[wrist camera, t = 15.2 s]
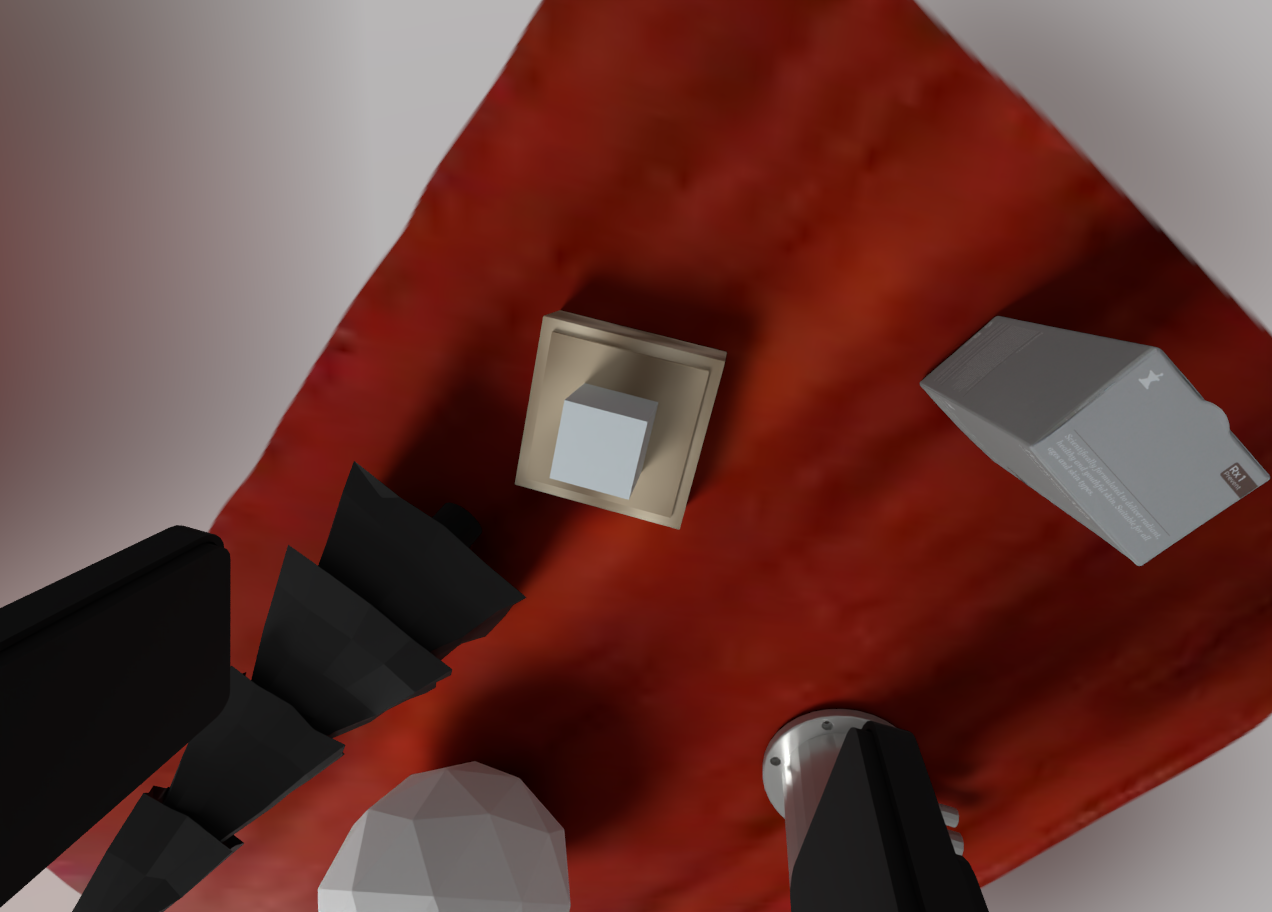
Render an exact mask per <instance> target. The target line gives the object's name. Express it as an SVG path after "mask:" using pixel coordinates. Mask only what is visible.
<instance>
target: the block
mask: <svg viewBox="0 0 1272 912" xmlns="http://www.w3.org/2000/svg"><path fill="white" fill-rule="evenodd" d="M657 406H658V402H655V401H652V400H648V399H644V398H640V397H636V396H632V395H629V394H625V393H621V392H617V391H613V390H609V389H606V388H602V387H598V386H594V385H590V384H586V383H584V384H583V385H582V386H580V387H579V388H578V389H577V390H576V391H575V392H573V393H572V394H571V395H570V396H569V397H567V398H566V399H565V400H564V405H563V410H562V415H561V421H560V426H559V431H558V436H557V441H556V447H555V452H554V457H553V462H552V467H551V473H550V478H551V479H555V480H558V481H562V482H565V483H569V484H573V485H576V486H580V487H584V488H587V489H591V490H595V491H598V492H602V493H606V494H609V495H613V496H617V497H620V498H624V499H627V500H629V498H630V496H631V494H632V492H633V490H634V488H635V485H636V483H637V481H638V479H639V477H640V474H641V472H642V468H643V464H644V460H645V456H646V452H647V447H648V443H649V439H650V435H651V431H652V427H653V423H654V419H655V415H656V411H657Z"/></svg>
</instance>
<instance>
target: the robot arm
mask: <svg viewBox="0 0 1272 912" xmlns="http://www.w3.org/2000/svg"><path fill="white" fill-rule="evenodd" d="M229 696H230V553H229V552H228V550H227V549H225V548H224V544H223V542H222V540H221V538H220V537H218V536H217V535H214V534H211V533H207V532H204V531H200V530H197V529H193V528H190V527H186V526H179V525H176V526H173V527H170V528H168V529H165V530H163V531H162V532H159V533H157V534H155V535H153V536H151V537H149V538H147V539H144V540H142V541H140V542H138V543H136V544H134V545H132V546H130V547H128V548H126V549H123V550H122V551H119V552H117V553H115V554H113V555H111V556H109V557H107V558H105V559H103V560H101V561H98V562H96V563H94V564H92V565H90V566H88V567H86V568H84V569H82V570H79V571H77V572H75V573H73V574H71V575H69V576H67V577H65V578H63V579H61V580H58V581H56V582H55V583H52V584H50V585H48V586H46V587H44V588H42V589H40V590H38V591H35V592H33V593H31V594H30V595H27V596H25V597H23V598H21V599H19V600H16V601H14V602H13V603H10V604H8V605H6V606H4V607H2V608H0V907H2V906H3V905H4V904H5V903H6V902H7V901H8V900H9V899H11V898H12V897H13V896H14V895H15V894H16V893H18V892H19V891H20V890H21V889H22V888H23V887H24V886H25V885H27V884H28V883H29V882H30V881H31V880H32V879H33V878H35V877H36V876H37V875H38V874H39V873H40V872H41V871H42V870H44V869H45V868H46V867H47V866H48V865H49V864H51V863H52V862H53V861H54V860H55V859H56V858H57V857H59V856H60V855H61V854H62V853H63V852H64V851H65V850H66V849H68V848H69V847H70V846H71V845H72V844H73V843H74V842H76V841H77V840H78V839H79V838H80V837H81V836H82V835H84V834H85V833H86V832H87V831H88V830H89V829H90V828H92V827H93V826H94V825H95V824H96V823H97V822H98V821H100V820H101V819H102V818H103V817H104V816H105V815H106V814H107V813H109V812H110V811H111V810H112V809H113V808H114V807H115V806H117V805H118V804H119V803H120V802H121V801H122V800H123V799H125V798H126V797H127V796H128V795H129V794H130V793H131V792H133V791H134V790H135V789H136V788H137V787H138V786H139V785H141V784H142V783H143V782H144V781H145V780H146V779H147V778H148V777H150V776H151V775H152V774H153V773H154V772H155V771H156V770H158V769H159V768H160V767H161V766H162V765H163V764H164V763H166V762H167V761H168V760H169V759H170V758H171V757H172V756H174V755H175V754H176V753H177V752H178V751H179V750H180V749H182V748H183V747H184V746H185V745H186V744H187V743H188V742H189V741H191V740H192V739H193V738H194V737H195V736H196V735H197V734H199V733H200V732H201V731H202V730H203V729H204V728H205V727H207V726H208V725H209V724H210V723H211V722H212V721H213V720H215V719H216V718H217V717H218V716H219V714H220V713H221V712H222V710H223V709H224V707H225V706H226V704H227V702H228V699H229ZM763 782H764V787H765V791H766V793H767V795H768V798H769V800H770V802H771V803H772V804H773V806H774V807H775V809H776V810H777V811H778V812H779V813H780V814H781V816H782V817H783V818H785V823H786V837H787V851H788V865H789V879H790V900H791V912H989V911H988V908H987V906H986V903H985V900H984V898H983V895H982V892H981V889H980V886H979V884H978V881H977V878H976V876H975V874H974V872H973V870H972V868H971V866H970V864H969V862H968V861H967V860H966V859H965V858H964V857H963V856H962V854H963V847H964V843H963V838H962V836H961V834H960V833H958V832H955V831H951V830H948V829H947V827H946V825H948V826H951V827H956V826H957V824H958V821H959V814H958V811H957V809H956V808H953V807H950V806H946V805H943V804H939V803H938V801H937V798H936V796H935V793H934V790H933V787H932V784H931V781H930V778H929V776H928V773H927V770H926V767H925V764H924V761H923V758H922V756H921V753H920V750H919V747H918V744H917V741H916V739H915V737H914V735H913V734H912V733H911V732H909V731H906V730H902V729H899V728H896V727H894V726H893V725H892V724H890V723H889V722H887V721H885V720H883V719H881V718H879V717H877V716H875V715H871V714H868V713H865V712H861V711H856V710H849V709H826V710H820V711H815V712H811V713H808V714H805V715H803V716H800V717H798V718H796V719H794V720H792V721H791V722H789V723H787V724H786V725H785V726H784V727H783V728H781V729H780V730H779V731H778V732H777V733H776V734H775V736H774V737H773V738H772V740H771V741H770V742H769V744H768V747H767V749H766V751H765V754H764V759H763Z"/></svg>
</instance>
